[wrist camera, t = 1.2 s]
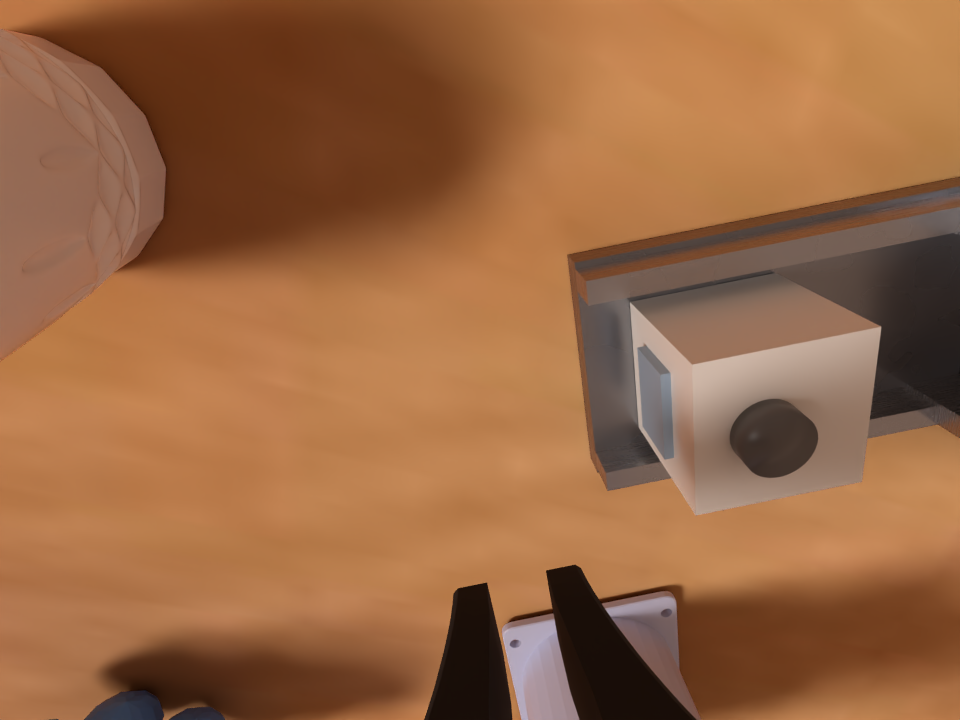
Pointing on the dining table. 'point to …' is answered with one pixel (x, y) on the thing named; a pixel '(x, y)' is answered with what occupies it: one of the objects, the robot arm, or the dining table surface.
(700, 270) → the module housing
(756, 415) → the block
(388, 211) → the dining table surface
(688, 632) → the dining table surface
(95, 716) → the grapes
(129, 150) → the white cup
